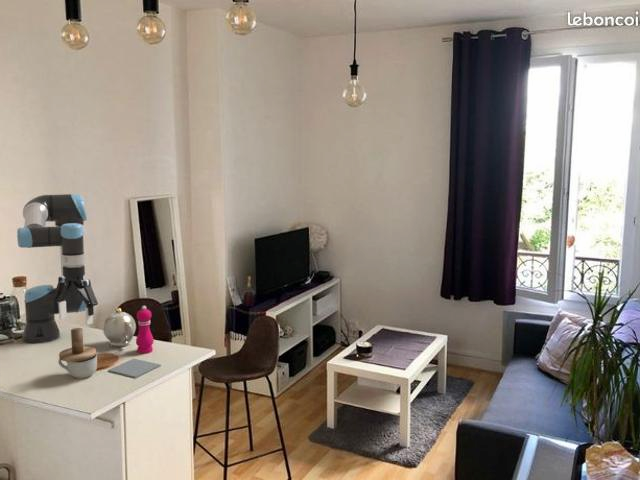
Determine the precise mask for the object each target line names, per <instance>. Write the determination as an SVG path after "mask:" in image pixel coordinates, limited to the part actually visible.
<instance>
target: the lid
mask: <svg viewBox="0 0 640 480" xmlns="http://www.w3.org/2000/svg"><path fill="white" fill-rule="evenodd" d="M83 331H84V330H83V328H81V327H74V328H72V329H70V336H71V337H70V338H71V341H70V342H71V347H69V348H66V349H64V350H61V351H60V352H59V353H58V360H59V359H60V360H61V362H62V361H63V362H66V361H67V362H77V361H83V360H87V359H90V358H93V357H94V356H95V355H96V354H97V349H96V348H94V347H92V346H84V338H83V337H84V336H83V334H84V333H83ZM67 362H66V363H67Z"/></svg>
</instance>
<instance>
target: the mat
mask: <svg viewBox="0 0 640 480" xmlns="http://www.w3.org/2000/svg"><path fill="white" fill-rule="evenodd" d="M161 366H162V365H161V364H159V363H155V362H151V361H146V360H141V359H137V358H131V359H130V360H127V361H125V362H123V363H121V364H118V365H116V366H114V367H111V368H110V369H107V372H109V373H113V374H118V375H122V376H124V377H125V376H126V377H129V378H134V379H137V378H139V377H141V376H143V375H146V374H147V373H149V372H152V371H154V370H156V369H158V368H160V367H161Z"/></svg>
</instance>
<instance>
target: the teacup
mask: <svg viewBox="0 0 640 480" xmlns="http://www.w3.org/2000/svg"><path fill="white" fill-rule="evenodd" d="M57 362H58V365H59V366H60V367H61V368H62V369H65V371H67V372H68V375H70V376H72V377H73V378H75V379H86V378H89V377H91V376H92V375H93V374H94V373H96V371H97V368H98V354H97V353H96V355H95V356H94V357H93V358H90V359H87V360H83V361H77V362H67V361H65V362H66V364H67V365H65V364H64V363H62V360H60V359H59V358H58V361H57Z"/></svg>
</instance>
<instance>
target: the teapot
mask: <svg viewBox="0 0 640 480" xmlns="http://www.w3.org/2000/svg"><path fill="white" fill-rule="evenodd" d="M136 329H137V325H136V321H135V319H134V317H133V316H132V315H131V314H129V313H127V312H125V311H122V308H120V307H118V308H117V309H116V311H115V312H110V313H109V315H108V316H107V317H106V319H104V322H103V325H102V332H103V334H104V337H105V338H106V339H107V340H108V341H109V342H108V343H109V346H110V347H113V348H123V347H127V346H128V345H130V344H131V342H132V339H133V337H134V335H135V332H136Z"/></svg>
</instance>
